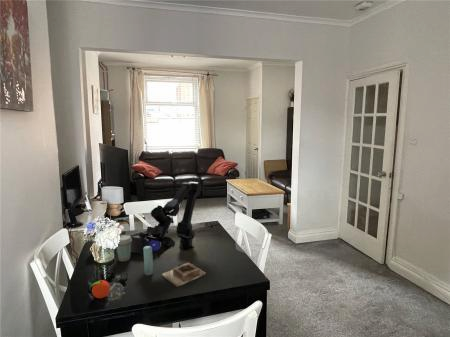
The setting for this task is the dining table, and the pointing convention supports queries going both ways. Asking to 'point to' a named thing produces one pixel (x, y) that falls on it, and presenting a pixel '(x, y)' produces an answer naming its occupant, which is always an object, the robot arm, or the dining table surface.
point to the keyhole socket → (183, 274)
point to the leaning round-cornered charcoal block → (137, 245)
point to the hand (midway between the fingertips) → (149, 255)
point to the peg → (148, 260)
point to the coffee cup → (124, 248)
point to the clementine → (100, 289)
